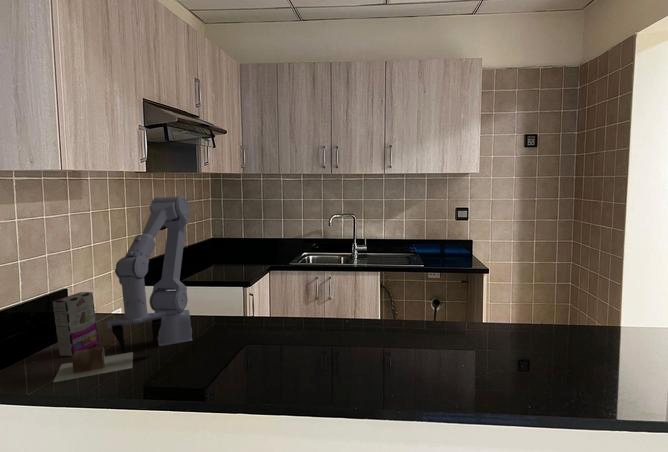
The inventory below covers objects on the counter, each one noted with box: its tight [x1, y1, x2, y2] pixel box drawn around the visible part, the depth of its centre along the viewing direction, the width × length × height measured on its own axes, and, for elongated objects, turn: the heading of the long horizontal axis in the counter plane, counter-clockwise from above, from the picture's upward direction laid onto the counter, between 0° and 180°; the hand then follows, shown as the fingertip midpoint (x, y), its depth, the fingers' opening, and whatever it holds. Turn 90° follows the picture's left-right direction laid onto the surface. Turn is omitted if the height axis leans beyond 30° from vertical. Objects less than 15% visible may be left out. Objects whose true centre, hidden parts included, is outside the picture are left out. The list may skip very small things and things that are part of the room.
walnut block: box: [71, 346, 106, 373], centre depth 127 cm, size 4×6×7 cm
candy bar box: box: [52, 291, 100, 357], centre depth 143 cm, size 11×5×16 cm, turn 168°
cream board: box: [52, 351, 134, 383], centre depth 128 cm, size 18×14×1 cm
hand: (139, 349), depth 132 cm, fingers open, 7 cm apart
